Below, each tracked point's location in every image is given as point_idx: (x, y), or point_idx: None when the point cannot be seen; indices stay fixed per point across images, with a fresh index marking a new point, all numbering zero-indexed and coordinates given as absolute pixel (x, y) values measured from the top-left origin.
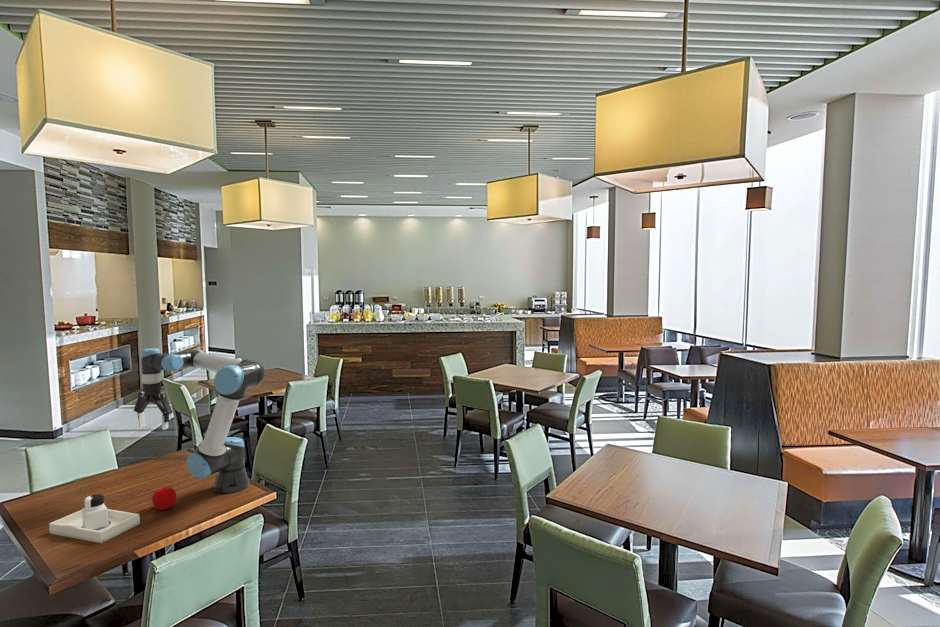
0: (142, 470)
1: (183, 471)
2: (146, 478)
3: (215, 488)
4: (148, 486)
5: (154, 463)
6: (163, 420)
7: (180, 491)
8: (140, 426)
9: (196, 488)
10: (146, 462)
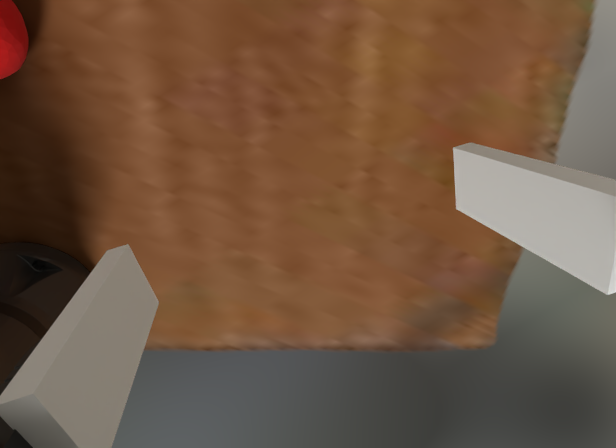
0: None
1: (338, 266)
2: (390, 164)
3: (16, 247)
4: (307, 126)
5: (489, 245)
6: (54, 334)
7: (146, 168)
8: (460, 152)
9: (127, 217)
10: None
